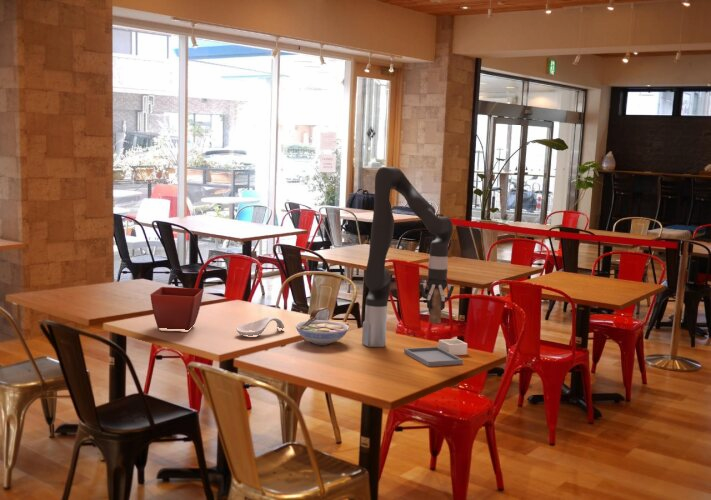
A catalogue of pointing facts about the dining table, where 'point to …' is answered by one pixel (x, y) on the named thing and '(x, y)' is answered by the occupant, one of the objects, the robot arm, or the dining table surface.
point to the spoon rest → (258, 326)
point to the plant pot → (176, 307)
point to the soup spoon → (320, 314)
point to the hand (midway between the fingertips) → (435, 309)
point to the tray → (433, 356)
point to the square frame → (453, 346)
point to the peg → (435, 307)
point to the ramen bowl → (321, 331)
